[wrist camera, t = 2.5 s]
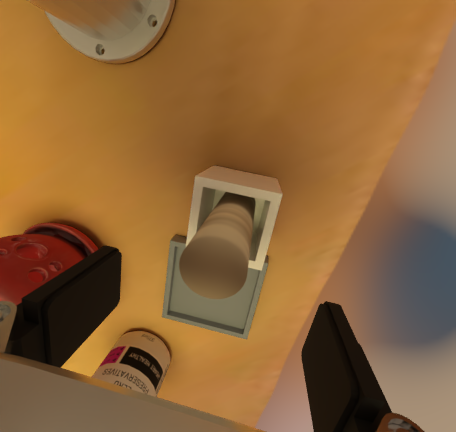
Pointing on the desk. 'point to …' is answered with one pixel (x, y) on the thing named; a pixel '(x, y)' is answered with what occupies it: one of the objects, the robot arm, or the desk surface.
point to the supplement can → (136, 363)
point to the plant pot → (39, 257)
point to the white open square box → (243, 185)
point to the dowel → (220, 249)
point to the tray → (210, 308)
